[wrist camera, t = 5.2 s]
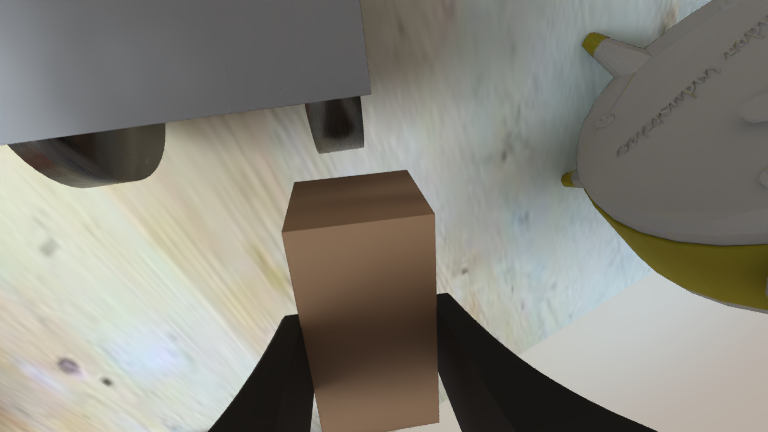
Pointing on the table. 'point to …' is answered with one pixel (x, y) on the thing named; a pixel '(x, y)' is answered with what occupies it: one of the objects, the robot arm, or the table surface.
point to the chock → (366, 299)
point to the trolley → (169, 76)
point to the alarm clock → (687, 151)
